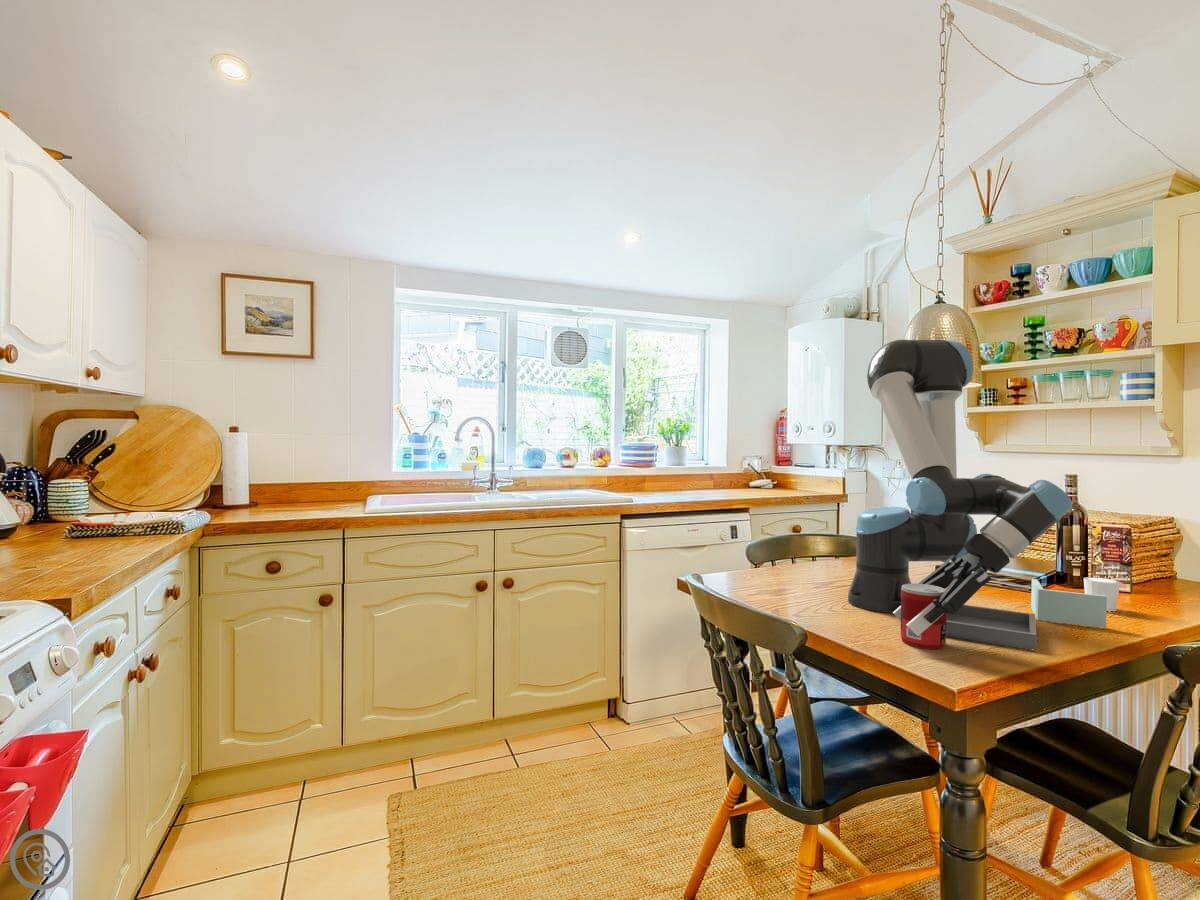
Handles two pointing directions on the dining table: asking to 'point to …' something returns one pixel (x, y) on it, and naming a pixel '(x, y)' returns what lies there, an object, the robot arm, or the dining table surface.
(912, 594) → the canned food
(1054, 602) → the l-shaped corner panel
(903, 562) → the robot arm
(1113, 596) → the white cup
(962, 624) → the gray square tray
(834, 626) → the dining table surface
